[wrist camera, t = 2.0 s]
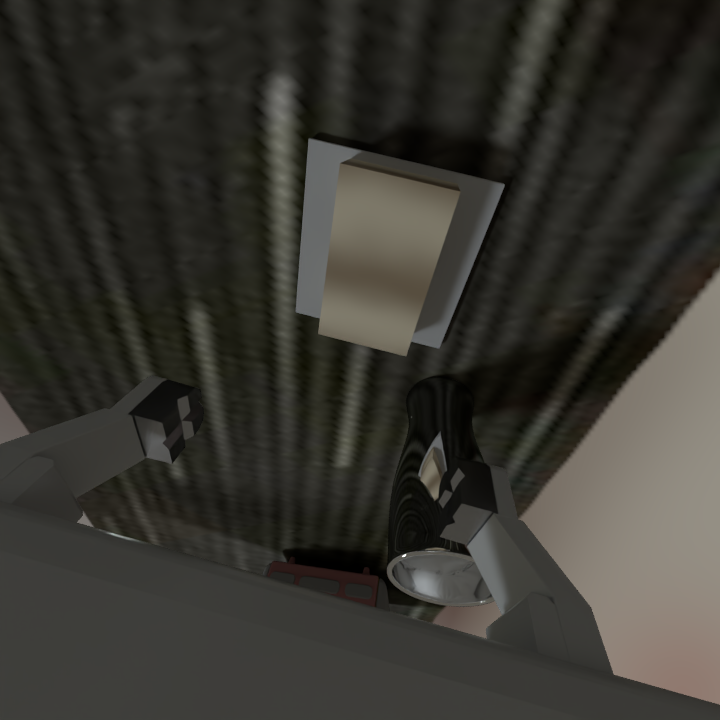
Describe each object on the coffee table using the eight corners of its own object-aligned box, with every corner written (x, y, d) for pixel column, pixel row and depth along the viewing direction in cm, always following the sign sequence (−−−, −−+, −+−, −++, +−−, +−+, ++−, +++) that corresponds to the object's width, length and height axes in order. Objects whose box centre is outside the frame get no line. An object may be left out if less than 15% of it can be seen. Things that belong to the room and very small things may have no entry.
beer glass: (466, 363, 28) (493, 546, 16) (487, 420, 31) (523, 609, 19) (390, 383, 30) (362, 553, 18) (416, 434, 34) (408, 607, 22)
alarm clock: (388, 562, 51) (370, 744, 36) (393, 605, 60) (380, 764, 45) (269, 546, 55) (208, 703, 40) (290, 588, 64) (247, 729, 49)
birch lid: (350, 158, 20) (339, 163, 18) (457, 183, 20) (460, 191, 18) (328, 314, 27) (318, 333, 24) (408, 335, 26) (405, 356, 24)
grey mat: (311, 138, 20) (308, 138, 20) (503, 183, 20) (505, 184, 20) (298, 308, 28) (295, 312, 27) (439, 344, 27) (439, 348, 27)
